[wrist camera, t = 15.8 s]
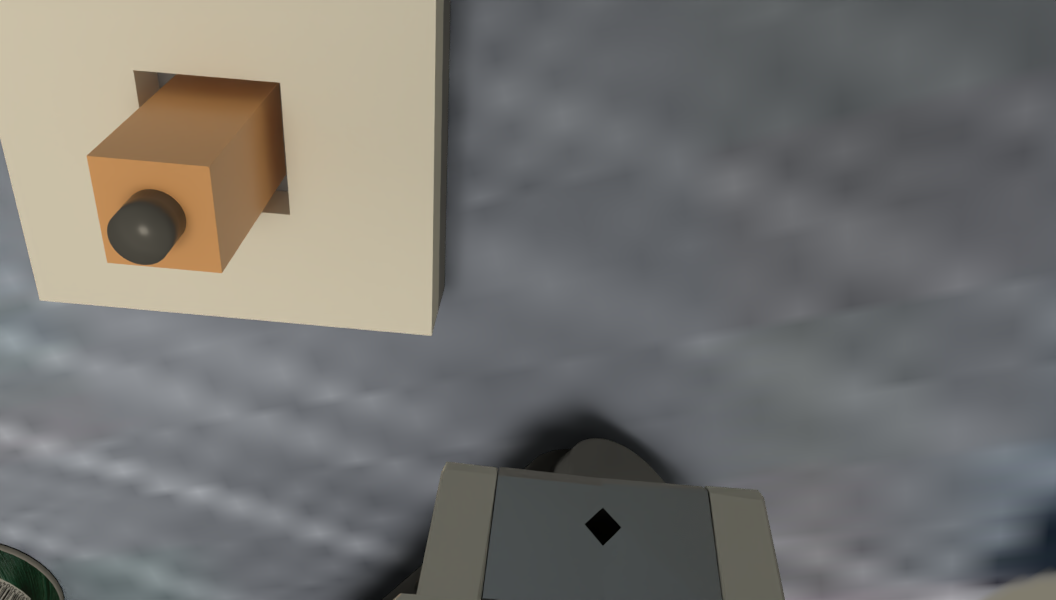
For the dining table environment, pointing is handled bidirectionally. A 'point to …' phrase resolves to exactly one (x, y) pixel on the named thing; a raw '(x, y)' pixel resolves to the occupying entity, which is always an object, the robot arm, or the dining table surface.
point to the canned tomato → (25, 578)
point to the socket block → (309, 144)
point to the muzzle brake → (580, 460)
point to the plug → (189, 173)
